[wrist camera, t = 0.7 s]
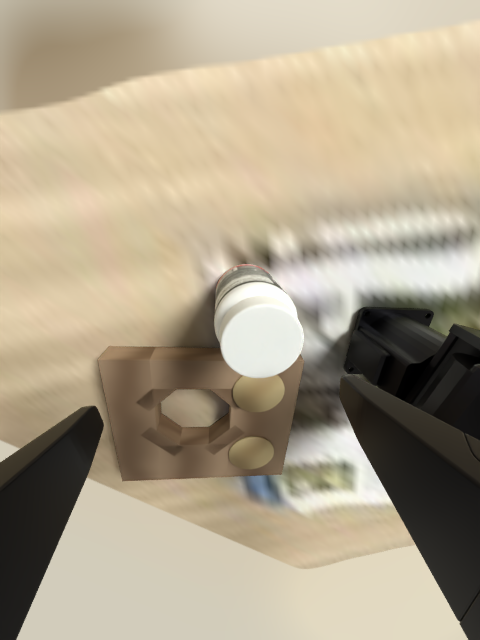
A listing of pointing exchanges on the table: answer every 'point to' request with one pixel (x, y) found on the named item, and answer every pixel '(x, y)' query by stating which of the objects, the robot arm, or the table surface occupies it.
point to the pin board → (196, 442)
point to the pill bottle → (256, 323)
